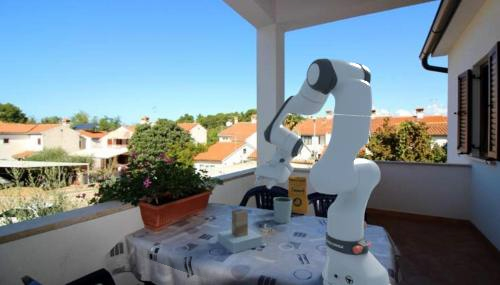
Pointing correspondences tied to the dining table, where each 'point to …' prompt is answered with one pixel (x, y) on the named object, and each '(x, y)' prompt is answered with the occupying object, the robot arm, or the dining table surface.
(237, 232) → the walnut block
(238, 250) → the slate base
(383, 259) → the dining table surface
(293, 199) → the coffee package
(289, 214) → the embossed ceramic cup
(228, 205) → the dining table surface
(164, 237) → the dining table surface
